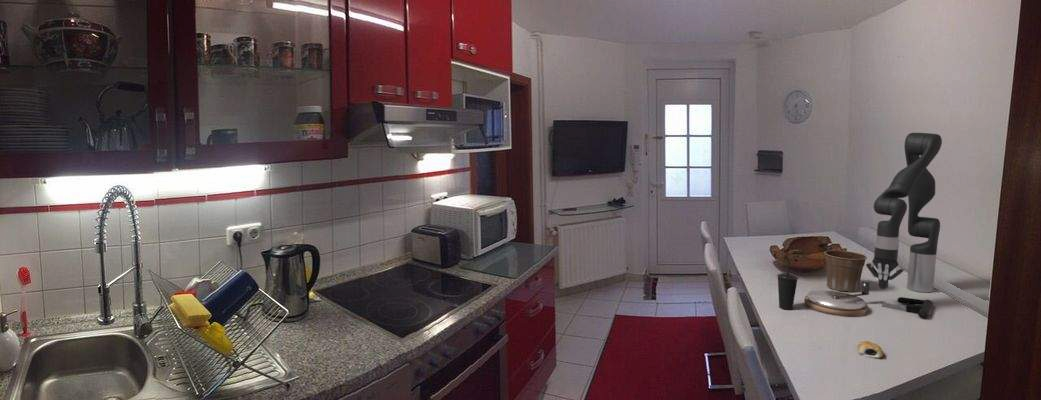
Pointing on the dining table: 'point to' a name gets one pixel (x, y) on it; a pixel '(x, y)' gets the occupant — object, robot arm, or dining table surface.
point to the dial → (839, 298)
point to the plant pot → (844, 270)
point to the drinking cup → (786, 289)
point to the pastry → (870, 350)
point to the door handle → (912, 306)
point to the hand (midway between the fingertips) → (882, 288)
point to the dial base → (836, 310)
